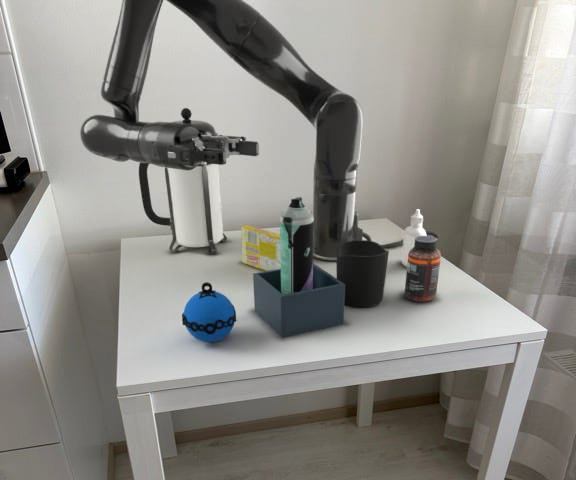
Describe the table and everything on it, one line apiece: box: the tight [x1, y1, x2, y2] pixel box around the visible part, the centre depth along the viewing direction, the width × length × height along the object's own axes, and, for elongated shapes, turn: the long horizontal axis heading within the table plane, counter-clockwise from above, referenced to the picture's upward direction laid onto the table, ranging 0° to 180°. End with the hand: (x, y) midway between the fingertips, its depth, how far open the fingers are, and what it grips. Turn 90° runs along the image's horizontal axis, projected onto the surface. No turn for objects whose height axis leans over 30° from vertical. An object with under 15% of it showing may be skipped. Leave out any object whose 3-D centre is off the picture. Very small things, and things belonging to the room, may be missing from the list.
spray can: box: [279, 196, 314, 295], centre depth 94 cm, size 6×6×20 cm
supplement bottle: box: [404, 235, 442, 303], centre depth 104 cm, size 6×6×11 cm
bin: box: [252, 262, 345, 339], centre depth 98 cm, size 12×12×7 cm
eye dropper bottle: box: [400, 208, 428, 268], centre depth 119 cm, size 4×6×12 cm
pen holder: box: [335, 239, 390, 309], centre depth 104 cm, size 9×9×10 cm
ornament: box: [181, 281, 237, 344], centre depth 90 cm, size 9×9×10 cm
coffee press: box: [138, 107, 228, 255], centre depth 127 cm, size 17×16×30 cm
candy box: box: [240, 224, 281, 271], centre depth 118 cm, size 16×2×8 cm, turn 45°
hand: (241, 153), depth 91 cm, fingers open, 8 cm apart
